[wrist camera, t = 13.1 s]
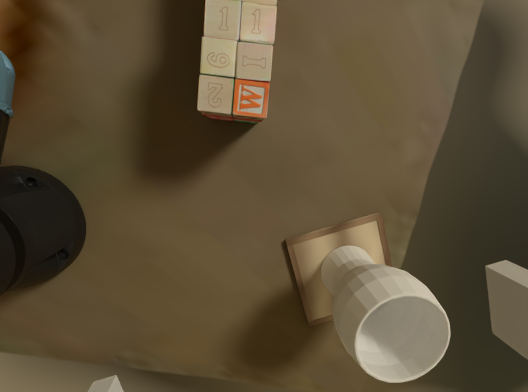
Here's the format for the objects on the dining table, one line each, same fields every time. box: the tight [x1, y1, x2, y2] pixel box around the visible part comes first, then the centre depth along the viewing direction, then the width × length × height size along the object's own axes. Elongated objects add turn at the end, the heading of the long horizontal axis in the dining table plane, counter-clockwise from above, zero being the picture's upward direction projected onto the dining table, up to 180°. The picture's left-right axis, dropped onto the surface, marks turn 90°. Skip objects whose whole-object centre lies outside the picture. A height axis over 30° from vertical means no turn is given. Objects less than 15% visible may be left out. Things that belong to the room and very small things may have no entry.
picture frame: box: [285, 212, 392, 327], centre depth 43 cm, size 14×14×1 cm
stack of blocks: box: [197, 0, 277, 124], centre depth 30 cm, size 21×6×12 cm, turn 174°
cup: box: [321, 245, 450, 382], centre depth 35 cm, size 11×11×15 cm
